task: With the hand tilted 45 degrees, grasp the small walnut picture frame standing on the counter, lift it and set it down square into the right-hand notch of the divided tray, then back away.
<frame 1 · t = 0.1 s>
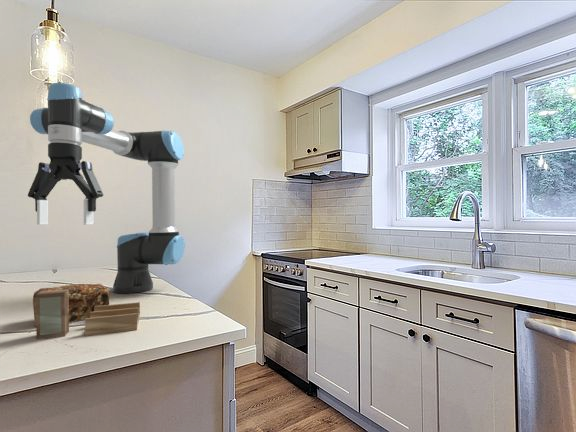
hand: (65, 224, 90), 28 cm above the counter, tool pointing down, fingers open, 13 cm apart
bread: (72, 319, 102), on the counter
divided tray: (115, 324, 95), on the counter
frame: (53, 335, 87), on the counter
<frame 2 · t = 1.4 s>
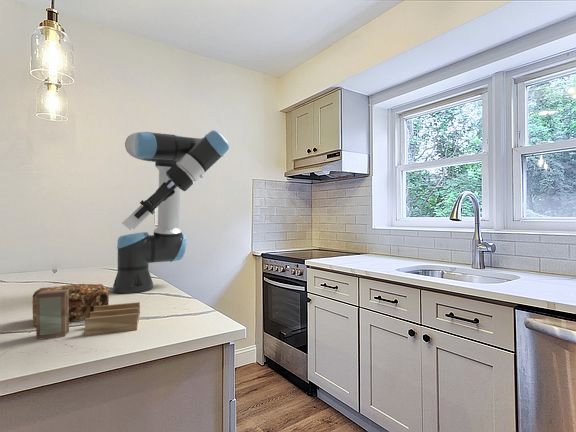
hand: (128, 226, 94), 27 cm above the counter, tool tilted 45°, fingers open, 13 cm apart
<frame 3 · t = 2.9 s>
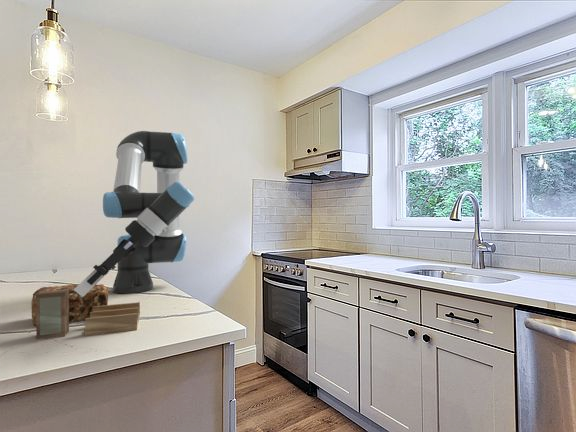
hand: (83, 288, 88), 12 cm above the counter, tool tilted 45°, fingers open, 13 cm apart
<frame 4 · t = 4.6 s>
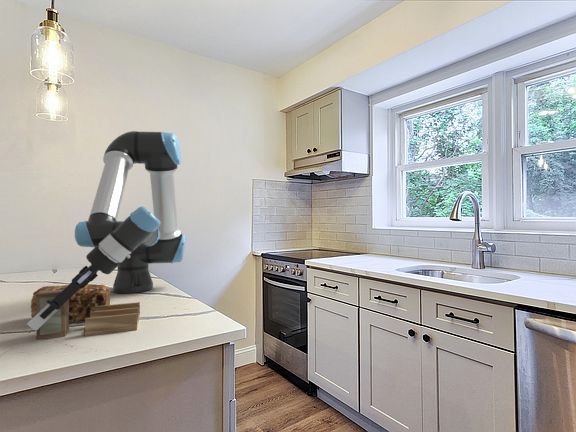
hand: (35, 324, 85), 3 cm above the counter, tool tilted 45°, fingers closed on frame, 4 cm apart
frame: (53, 335, 87), on the counter, touching gripper
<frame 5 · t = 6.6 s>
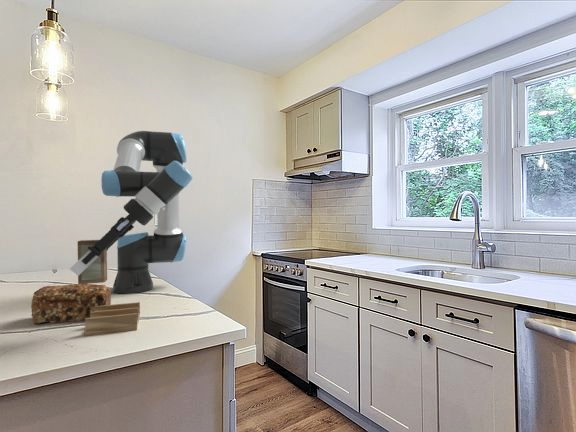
hand: (76, 270, 89), 16 cm above the counter, tool tilted 45°, fingers closed on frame, 4 cm apart
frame: (93, 282, 90), point 13 cm above the counter, touching gripper
when the fingers open (8 cm above the counter, at t = 8.7 s): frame drops 4 cm, resting on divided tray.
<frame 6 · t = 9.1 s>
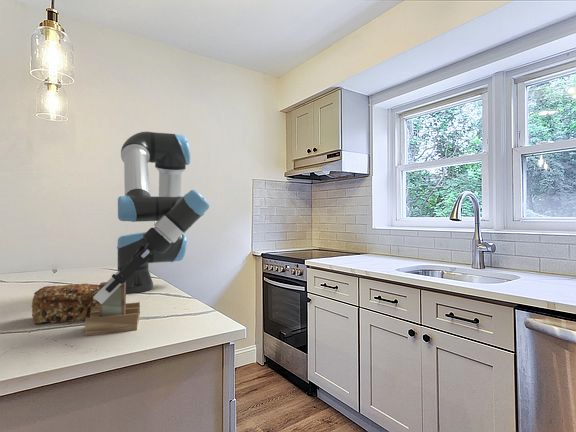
hand: (100, 295, 91), 9 cm above the counter, tool tilted 45°, fingers open, 10 cm apart
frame: (113, 323, 92), point 1 cm above the counter, touching divided tray
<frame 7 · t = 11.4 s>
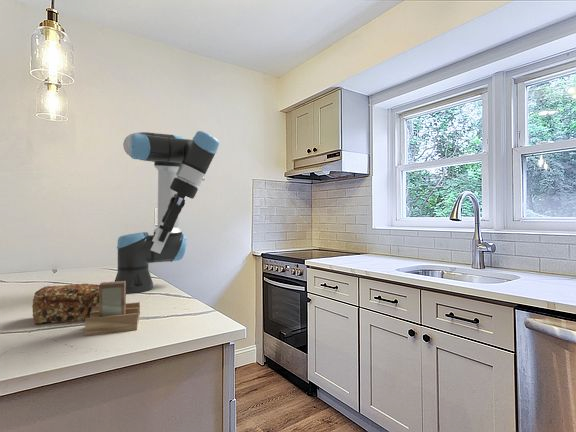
hand: (155, 246, 101), 21 cm above the counter, tool tilted 25°, fingers open, 13 cm apart
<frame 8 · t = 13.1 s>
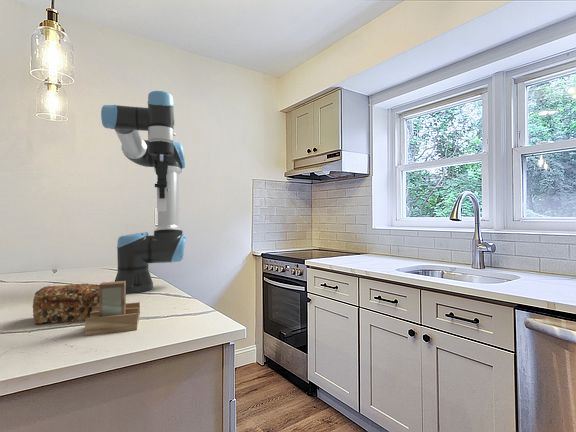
hand: (161, 210, 107), 32 cm above the counter, tool pointing down, fingers open, 13 cm apart
at the end: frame 0.5 cm from the target spot on the divided tray, point 1.0 cm above the divided tray's base; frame tilted 0°; the gripper is holding nothing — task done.
